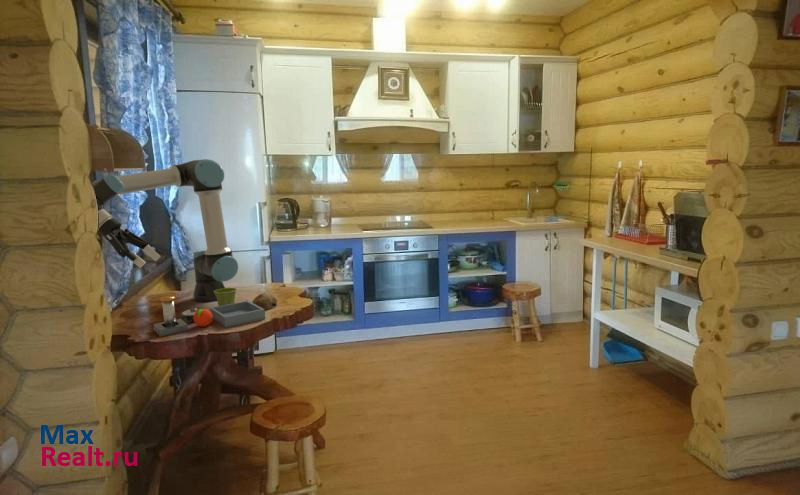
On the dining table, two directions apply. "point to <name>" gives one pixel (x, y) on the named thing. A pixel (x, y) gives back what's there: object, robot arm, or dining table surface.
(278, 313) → the dining table surface
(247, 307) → the tray
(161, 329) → the tensioner
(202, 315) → the red tomato
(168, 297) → the lock pin
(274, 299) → the bread roll
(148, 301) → the dining table surface
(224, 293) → the plant pot
